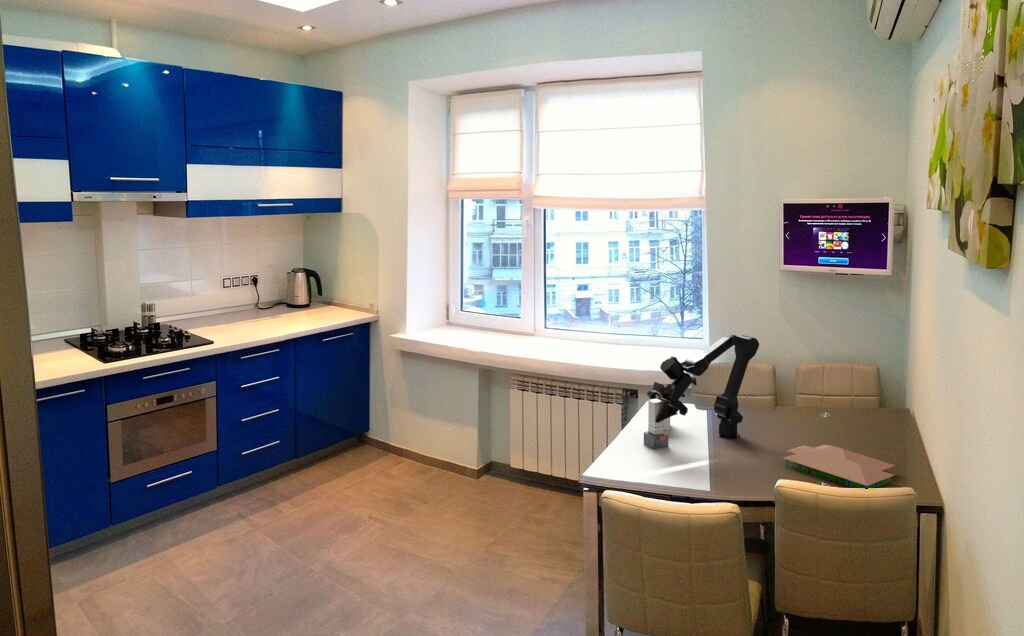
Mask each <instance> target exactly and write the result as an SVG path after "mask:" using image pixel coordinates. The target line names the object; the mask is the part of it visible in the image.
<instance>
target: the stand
mask: <svg viewBox="0 0 1024 636" xmlns="http://www.w3.org/2000/svg"><path fill="white" fill-rule="evenodd" d="M669 439H670V438H669V433H666V432H665V431H664V434H663V435H658V436H653V435H651V434H649V433H648V430H647V431H644V432H643V445H644V446H645V447H648V448H649V449H651V450H659V449H665V448H669V447H670V446H669Z"/></svg>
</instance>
